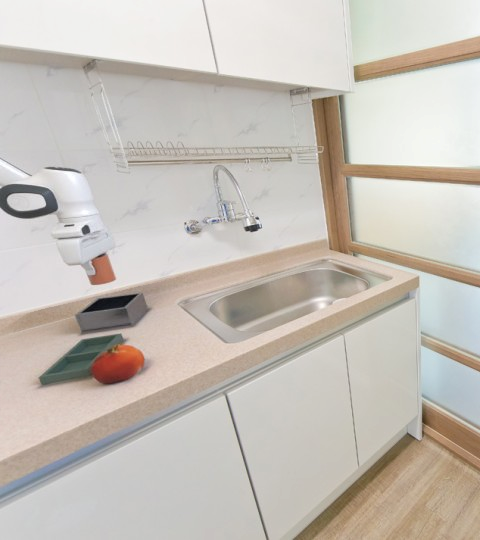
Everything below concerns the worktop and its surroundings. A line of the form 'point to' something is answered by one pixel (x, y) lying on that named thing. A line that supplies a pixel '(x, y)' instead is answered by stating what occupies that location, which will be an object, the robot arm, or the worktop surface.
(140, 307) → the basin
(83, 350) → the tray
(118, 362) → the tomato
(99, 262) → the cup
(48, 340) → the worktop surface
